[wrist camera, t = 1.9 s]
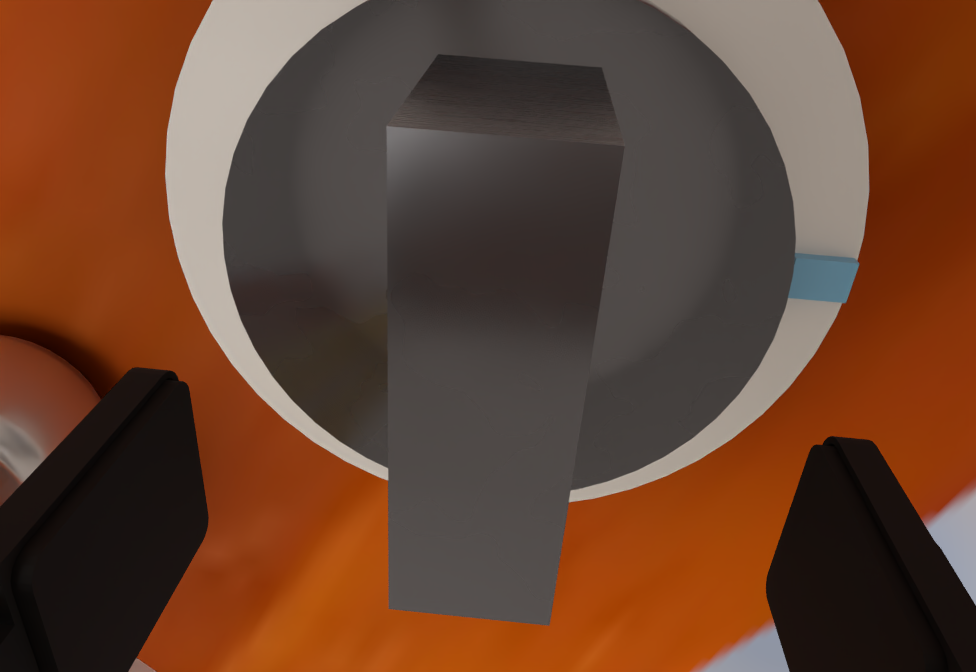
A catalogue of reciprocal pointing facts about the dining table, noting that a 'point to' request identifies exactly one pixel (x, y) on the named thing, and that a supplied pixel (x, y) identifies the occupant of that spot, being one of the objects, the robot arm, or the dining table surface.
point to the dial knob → (506, 265)
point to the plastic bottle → (36, 407)
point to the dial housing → (695, 3)
